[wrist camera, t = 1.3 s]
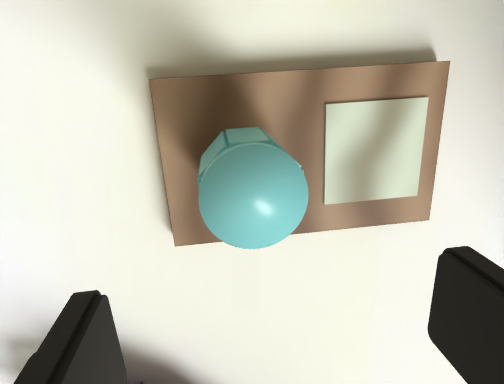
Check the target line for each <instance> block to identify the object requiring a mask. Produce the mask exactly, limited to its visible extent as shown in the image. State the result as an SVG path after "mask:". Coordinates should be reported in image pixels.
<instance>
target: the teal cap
mask: <svg viewBox="0 0 504 384" xmlns="http://www.w3.org/2000/svg"><path fill="white" fill-rule="evenodd" d="M301 167H302V166H301V165H300V164H299V163H298V162H297V161H296V160H295V159H294V158H293V157H292V156H291V155H290V154H289V153H288V152H287V151H286V150H285V149H284V148H283V147H282V146H281V145H280V144H278V143H277V142H276V141H275V140H274V139H273V138H272V137H271V136H270V135H268V134H267V133H266V132H265V131H264V130H263V129H262V128H261V129H259V128H258V127H249V128H236V129H226V134H225V133H224V132H223V131H222V132H221V133H220V134H219V135H218V137H217V138H216V139H215V140H214V141H213V142H212V144H211V145H210V146H209V147H208V148H207V150H206V151H205V152H204V153H203V154H202V156H201V159H200V166H199V172H198V179H197V181H198V190H199V198H198V199H199V209H200V213H201V216H202V218H203V220H204V222H205V224H206V226H207V227H208V229H209V230H210V231H211V232H212V233H213V234H214V235H215V236H216V237H217V238H219V239H220V240H222V241H223V242H225V243H227V244H229V245H232V246H235V247H239V248H244V249H258V248H264V247H267V246H271V245H273V244H276V243H278V242H280V241H281V240H283V239H284V238H286V237H287V236H289V235H290V234H291V233H292V232H293V231H294V230H295V229H296V227H297V226H298V225H299V223H300V222H301V220H302V218H303V216H304V214H305V211H306V208H307V204H308V186H307V181H306V178H305V176H304V170H303V169H302V168H301Z"/></svg>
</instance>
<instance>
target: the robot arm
mask: <svg viewBox="0 0 504 384" xmlns="http://www.w3.org/2000/svg"><path fill="white" fill-rule="evenodd" d="M428 334H429V337H430V339H431V340H432V342H433V343H434V344H435V345H436V347H437V348H438V349H439V350H440V351H441V353H442V354H443V355H444V356H445V357H446V359H447V360H448V361H449V362H450V363H451V364H452V366H453V367H454V368H455V369H456V370H457V372H458V373H459V374H460V375H461V376H462V378H463V379H464V380H465V381H466V382H467V384H504V269H503V268H501V267H500V266H498V265H496V264H495V263H493V262H492V261H490V260H489V259H487V258H486V257H484V256H483V255H481V254H480V253H478V252H477V251H475V250H474V249H472V248H470V247H468V246H462V247H453V248H447V249H445V250H444V251H443V254H441V255H440V256H439V258H438V263H437V270H436V276H435V283H434V289H433V296H432V303H431V309H430V316H429V322H428ZM14 384H126V369H125V365H124V361H123V357H122V353H121V349H120V345H119V341H118V336H117V332H116V328H115V324H114V320H113V316H112V312H111V308H110V304H109V300H108V297H107V296H106V295H101V294H100V292H99V291H98V290H94V291H85V292H77V293H73V295H72V296H71V297H70V299H69V301H68V302H67V304H66V305H65V307H64V309H63V310H62V312H61V313H60V315H59V317H58V318H57V320H56V321H55V323H54V325H53V326H52V328H51V329H50V331H49V333H48V334H47V336H46V338H45V339H44V341H43V342H42V344H41V346H40V347H39V349H38V350H37V352H36V353H34V354H33V355H32V356H31V357H30V359H29V360H28V361H27V363H26V365H25V366H24V368H23V369H22V371H21V372H20V374H19V376H18V377H17V379H16V380H15V382H14Z"/></svg>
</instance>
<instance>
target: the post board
mask: <svg viewBox="0 0 504 384" xmlns="http://www.w3.org/2000/svg"><path fill="white" fill-rule="evenodd" d="M449 66H450V61H439V62H423V63H407V64H390V65H374V66H358V67H341V68H325V69H309V70H292V71H276V72H259V73H243V74H227V75H210V76H194V77H178V78H161V79H149V81H150V88H151V94H152V101H153V107H154V114H155V120H156V127H157V133H158V140H159V147H160V153H161V160H162V166H163V173H164V179H165V186H166V192H167V199H168V205H169V212H170V218H171V225H172V231H173V238H174V244H175V246H184V245H194V244H204V243H213V242H223V241H222V240H220V239H219V238H217V237H216V236H215V235H214V234H213V233H212V232H211V231H210V230H209V229H208V227H207V226H206V224H205V222H204V220H203V218H202V216H201V213H200V209H199V199H198V198H199V190H198V181H197V179H198V172H199V166H200V159H201V156H202V154H203V153H204V152H205V151H206V150H207V148H208V147H209V146H210V145H211V144H212V142H213V141H214V140H215V139H216V138H217V137H218V135H219V134H220V133H221V132H222V131H223V132H224V133H225V134H226V129H236V128H249V127H258V128H259V129H261V128H262V129H263V130H264V131H265V132H266V133H267V134H268V135H270V136H271V137H272V138H273V139H274V140H275V141H276V142H277V143H278V144H280V145H281V146H282V147H283V148H284V149H285V150H286V151H287V152H288V153H289V154H290V155H291V156H292V157H293V158H294V159H295V160H296V161H297V162H298V163H299V164H300V165H301V166H302V167H301V168H302V169H303V170H304V176H305V178H306V181H307V186H308V204H307V208H306V211H305V214H304V216H303V218H302V220H301V222H300V223H299V225H298V226H297V227H296V229H295V230H294V231H293V232H292V233H291V234H300V233H310V232H319V231H329V230H339V229H348V228H358V227H368V226H377V225H387V224H397V223H406V222H416V221H426V220H429V217H430V209H431V202H432V194H433V187H434V179H435V172H436V164H437V156H438V149H439V141H440V134H441V126H442V119H443V111H444V104H445V96H446V89H447V81H448V73H449ZM291 234H290V235H291Z"/></svg>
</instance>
